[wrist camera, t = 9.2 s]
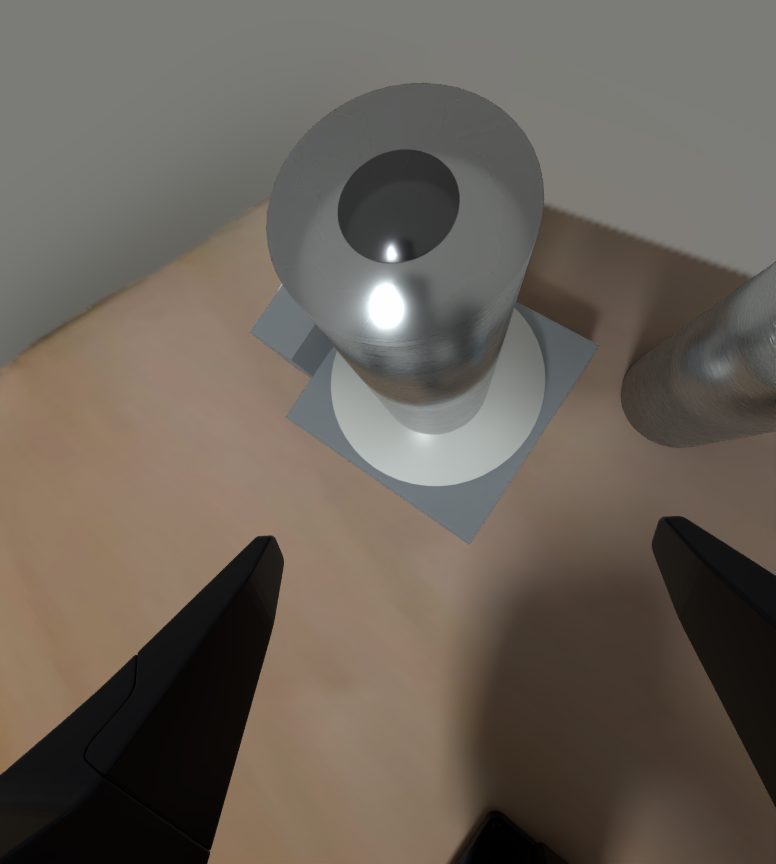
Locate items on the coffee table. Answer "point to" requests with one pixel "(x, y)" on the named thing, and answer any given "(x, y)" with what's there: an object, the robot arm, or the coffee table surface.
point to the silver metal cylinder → (410, 242)
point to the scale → (442, 453)
